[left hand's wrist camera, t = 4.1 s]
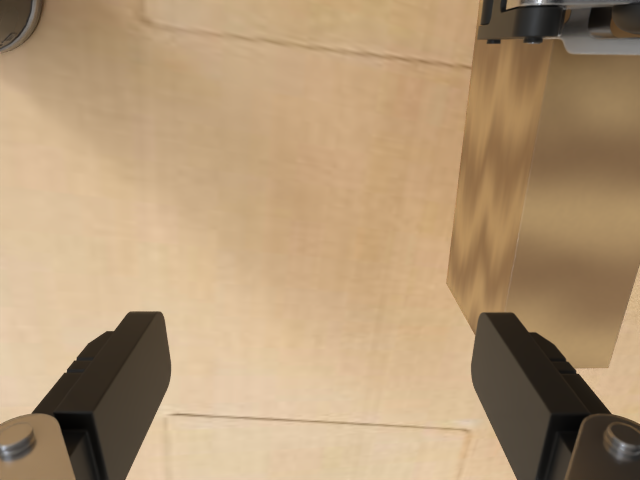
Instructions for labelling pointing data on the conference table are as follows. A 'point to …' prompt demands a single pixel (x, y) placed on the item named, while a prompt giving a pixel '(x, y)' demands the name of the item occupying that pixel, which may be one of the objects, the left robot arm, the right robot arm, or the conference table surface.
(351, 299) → the conference table surface
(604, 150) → the box
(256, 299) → the conference table surface
